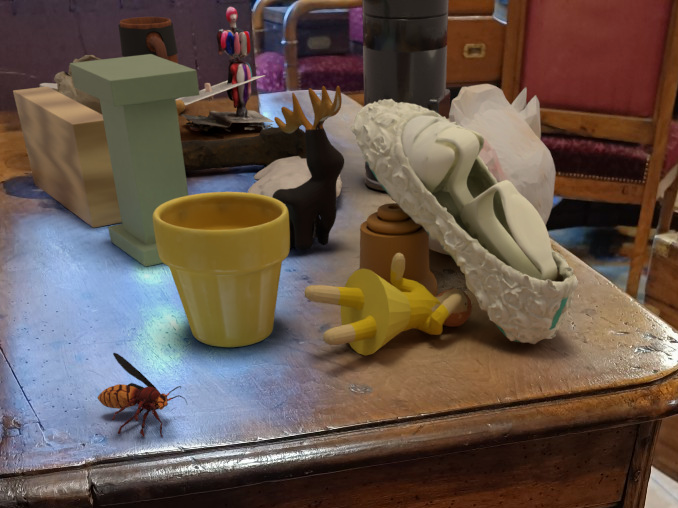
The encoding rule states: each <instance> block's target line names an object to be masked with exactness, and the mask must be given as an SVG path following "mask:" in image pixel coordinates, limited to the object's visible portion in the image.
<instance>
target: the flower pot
mask: <svg viewBox="0 0 678 508" xmlns="http://www.w3.org/2000/svg"><path fill="white" fill-rule="evenodd" d="M153 225H154V233H155V239H156V245H157V249H158V254H159V257H160V259H161V261H162V262H163V263H162V264H164V265H166V266H168V268H169V271H170V274H171V276H172V279H173V282H174V285H175V288H176V290H177V293H178V295H179V299H180V302H181V305H182V308H183V310H184V313H185V316H186V320H187V322H188V325H189V328H190V331H191V333H192V336H193V337H194V338H195V339H196V340H197V341H198V342H200V343H202V344H205V345H208V346H210V347H217V348H218V347H219V348H238V347H247V346H250V345H254V344H256V343H259V342H262V341H264V340H265V339H267V338H268V337H270V335H272V333H273V330H274V324H275V323H274V322H275V316H276V315H275V314H276V308H277V301H278V295H279V294H278V293H279V286H280V278H281V271H282V265H283V261H284V260H286V258H287V257H288V256H289V254H290V249H291V248H290V228H289V213H288V209H287V207H286V206H285V204H284V203H282V202H281V201H279V200H277V199H274V198H272V197H269V196H265V195H260V194H254V193H248V192H245V191H244V192H243V191H215V192H213V191H211V192H202V193H195V194H188V196H184V197H179V198H176V199H173V200H170V201H167V202H165V203H163V204H161V205H160V206H158V207H157V208H156V209H155V211H154V213H153Z"/></svg>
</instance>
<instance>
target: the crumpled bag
mask: <svg viewBox="0 0 678 508" xmlns="http://www.w3.org/2000/svg"><path fill="white" fill-rule="evenodd" d="M527 91H528V89H527V86H524V88H523V89H522V90H521V92H519V94H517V96H516V98H514V100H513V101H512V103H510V102H509V101H508V100H507V98H506V96H505V94H504V90H502V88H499V87H497V86H496V85H493V84H490V83H482V84H481V83H480V84H476V85H470V86H469V85H468V86H462V87H461V88H460V90H459V92H458V94H457V96H456V97H455V98H453V99H452V100H451V102H450V113H449V118H448V120H449V121H450V122H457V123H458V124H459V125H460V126H461V127H463V128H465V129H469V130H472V131H475V132H477V133H479V134H481V135H482V136H483V138H484V145H483V148H482V150H481V151H480V153H479V156H480V158H481V159H482V161H483V162H484V164H485V165H486V166H487V167H488V171H489V172H490V173H491V174H492V175H493V177H495V178H496V180H497V182H498V183H499V182H501V181H504V180H508V181H510V182H511V183H512V184H513V185H514V187H515V188H516V189H517V191H518V192H519V193H520V194H521V195H522V196H523V197H525V198H526V199H527V200H528V201H529V202H530V203H531V204H532V205H533V207H534V208H535V209H536V210H537V212H538V213H539V215H540V216H541V218H542V220H543V222H544V224H545V226H546V225H547V222H548V221H549V218H550V215H551V212H552V209H553V205H554V195H555V194H554V193H555V184H556V165H555V162H554V159H553V157H552V153H551V151H550V150H549V148H548V147H547V146H546V145H545V143H544V142H543V141H542V140H541V137H542V130H541V129H542V128H541V127H542V126H541V107H540V105H541V104H540V101H539V98H538V97H537V94H536V95H534V96H533V97H532V98H531V99H530V100H529V101H528V103H527V93H528V92H527ZM429 250H431V251H434V252H437V253H439V254H443V255H446V256H447V255H448V256H451V255H450V254H449V253H447V252H446V251H445V250H444V249H443V247H442V246H441V245H440V242H439V241H438V240H432V239H431V238H430V236H429Z"/></svg>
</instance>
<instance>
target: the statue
mask: <svg viewBox="0 0 678 508" xmlns="http://www.w3.org/2000/svg"><path fill="white" fill-rule="evenodd" d="M238 16H239V15H238V10H237V9H236V8H235V7H233V6H228V7H227V8H226V12H225V18H226V21H227V22H228V24H229V27H230V29H231V30H230V29H223V28H221V29H218V31H217V33H216V41H217V47H218V48H217V54H219V56H222V55H223V54H226V55H227V56H228V57H229V60H228V62H229V63H228V68H227V69H228V71H227V81H228V82H227V84H228V83H232V85H233V84H237V83H242V82H245V81H248V80H250V79H251V78H252V77H253V72H252V68H251V66H250V64H249V63H248V62H247V61H242V59H245V58H246V57H247V56H248V55H249V54H250V53H251V49H252V47H251V35H250V32H249V31H247V30H245V31H244V30H243V29H241V28H238V27H237V20H238V19H239V17H238ZM252 84H253V81H250V82H247V83H245V84H242V85H239V86H236V87H234V88H231V89H228V90H226V94H227V97H228V99H229V100H230V101H232V103H233V108H234V109H236V110H235V111H216V110H210V111H208V113H209V114H208V115H207V116H205V115H201V114H199V115H190V114H184V113H180V116H182V117H183V118H184V119H185V120H186V121H188V122H185V125H186V126H188V127H189V128H190V130H191V131H193V132H197V131H198V132H199V131H205V132H208V130H209V129H213V128H216V129H219V130H225V131H228V132H231V130H230V129H227V128H230V127H231V125H232V123H242V124H244V123H249V124H248V126H247V127H246V126H245V127H244V130H249V131H253V130H255V129H256V128H255V127H258V128H259V127H261V128H262V130H263V129H268V128H271V127H274V124H272V123H274V122H275V120H273V119H270V118H268V117H267V116H265V115H263V114H261V113H259V112H258V111H256V110H248V109H247V107H246V106H247V103H248V101H249V99H250V98H251V94H252ZM265 123H270V124H267V125H265Z"/></svg>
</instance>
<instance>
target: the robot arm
mask: <svg viewBox="0 0 678 508" xmlns="http://www.w3.org/2000/svg"><path fill="white" fill-rule="evenodd" d="M361 2H362V3H361V4H362V5H361V7H362V10H361V11H362V15H361V16H362V45H363V46H362V50H363V51H362V59H363V62H362V63H363V65H362V66H363V67H362V68H363V107H365V106H366V105H367V104H369V103H371V104H373V103H374V102H378V101H379V100H381V101H382V100H384V99H386V100H390V99H392V100H393V101H395V102H397V103H400V102H403V103H409V104H416V105H418V106H421V107H423V108H426V109H429V111H430V110H431V111H435V112H436V113H438V114H439V115H440V116H442V117H444V116H445V118H446V119H448V118H449V113H450V108H451V90H450V89H449V88H447V66H448V65H447V62H448V33H449V32H448V30H449V28H448V27H449V25H448V24H449V3H450V0H361ZM364 161H365V160H364ZM364 168H365V171H364V183H365V185H366V186H367V187H369V188H372V189H374V190H376V191H381V192H386V191H385V190H384V188H383V187H382V186H381V185H380V183H379V182H378V180H377V179H376V177H375V176H374V174H373V172H372V171H371V169H370V168H369V165H368V164H367V162H366V161H365V162H364Z"/></svg>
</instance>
